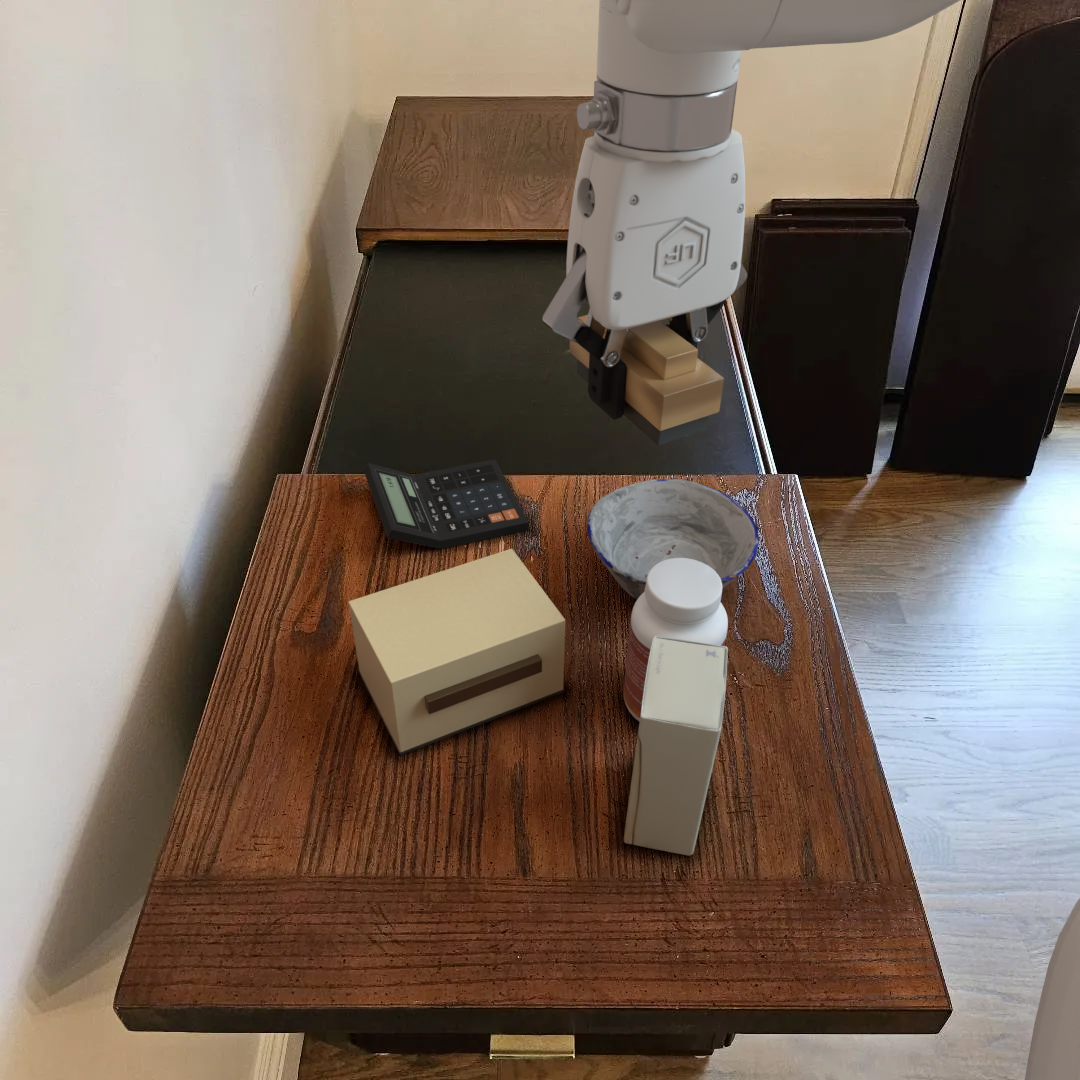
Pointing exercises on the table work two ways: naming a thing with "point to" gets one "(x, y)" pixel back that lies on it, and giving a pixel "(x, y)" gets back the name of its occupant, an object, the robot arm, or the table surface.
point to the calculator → (445, 504)
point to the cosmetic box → (676, 743)
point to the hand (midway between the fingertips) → (640, 396)
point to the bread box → (458, 649)
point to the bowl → (670, 530)
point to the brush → (663, 382)
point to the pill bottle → (672, 617)
